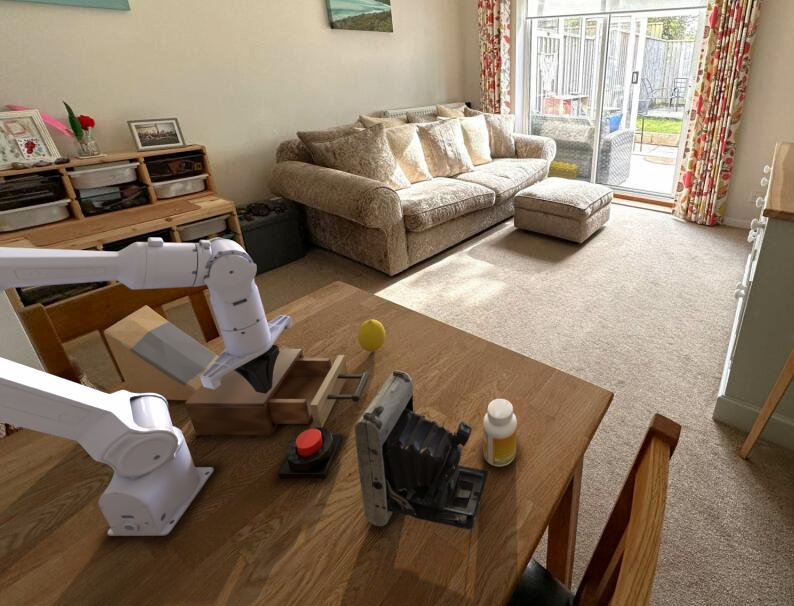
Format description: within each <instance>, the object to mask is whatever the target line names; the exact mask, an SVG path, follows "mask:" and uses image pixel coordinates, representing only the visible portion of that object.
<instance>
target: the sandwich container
mask: <svg viewBox="0 0 794 606" xmlns="http://www.w3.org/2000/svg"><path fill="white" fill-rule="evenodd" d="M103 335H104V337H105V339H106V342H107V344H108V346H109V349H110V352H111V354H112V355H113V357H114V359H115V361H116V365H117V367H118V369H119V371H120V372H121V376H122V378H123V380H124V382H125V384H126V386H127V388H128V392H131V393H156V394H159V395H161V396H163V397H164V398H165V399H166V400H167V401H187V400H188V399H189V398H190V397H191V396H192V395H193V394H194V393H195V392H196V391H197V390H198V389H199V388H200V387H201V385H202V382H201V379H200V375H202V374H203V373H204V372H205V371H206V370H208V368H209V367H210V366H211V365H212V364H213V363H214V361H215V360H216V359H217V358H218V357H219V355H217V354H216V353H215V352H213V351H212V350H210V348H209V349H208V348H207V347H205V346H204V345H203V344H202V343H200V342H198V341H197V340H196V339H194V338H193V337H192V336H190V335H188V334H187V333H185V332H184V331H183V330H181V329H180V328H178V327H177V326H175V325H174V324H173V323H171V322H170V321H169V320H167V319H166V318H164V316H161V315H160V314H159V313H157V312H156V311H155V310H154V309H152V308H151V307H149V305H144V306H142V307H141V308H139V309H137V310H135V311H134V312H132V313H131V314H129V315H127V316H125V317H124V318H122V319H121V320H119V321H117V322H116V323H114V324H113V325H111V326H109V327H108V328H106V329H104V330H103Z"/></svg>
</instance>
